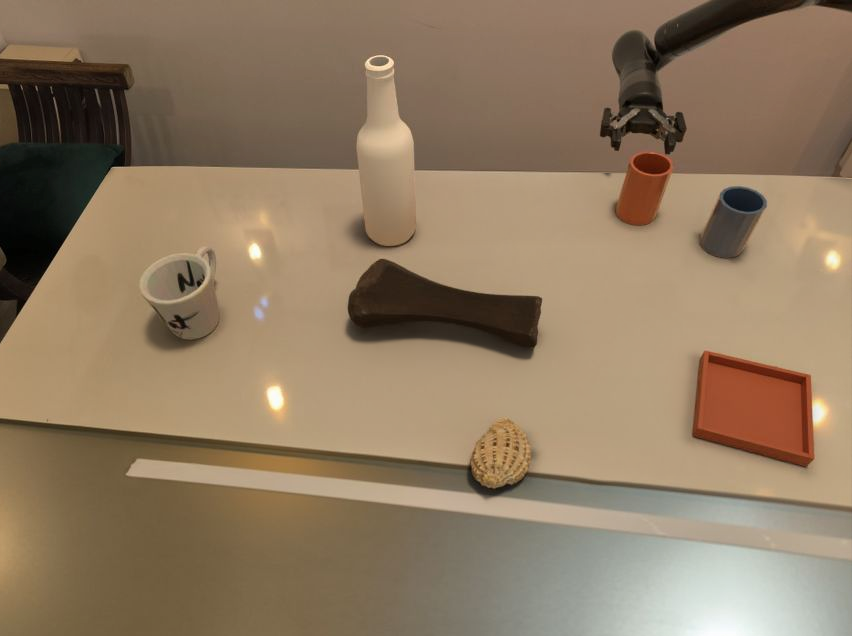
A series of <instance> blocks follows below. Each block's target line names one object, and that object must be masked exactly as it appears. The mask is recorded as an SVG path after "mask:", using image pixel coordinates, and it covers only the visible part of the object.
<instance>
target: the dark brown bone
mask: <svg viewBox="0 0 852 636" xmlns="http://www.w3.org/2000/svg"><path fill="white" fill-rule="evenodd" d="M542 303H543V298H542V297H541V296H539V295H521V294H520V295H518V294H517V295H516V294H495V293H485V292H477V291H471V290H465V289H461V288H456V287H453V286H448V285H445V284H442V283H439V282H436V281H434V280H431V279H429V278H426V277H424V276H422V275H419V274H417V273H415V272H414V271H411V270H410V269H408V268H406V267H404V266H402V265H400V264H398V263H396V262H394V261H392V260H389V259H387V258H379V259H377V260H376V261H374V262H373V263H372V264H371V265H369V267H368V268H367V269H366V270H365V271H364V272H363V273H362V274H361V276H360V277H359V278H358V281H357V282H356V286H355V288H354V289H353V290H351V291H350V293H349V296H348V302H347V313H348V317H349V320H350V321H351V323H352V324H354V325H355V326H357V327H360V328H371V327H377V326H384V325H390V324H398V323H408V322H427V323H429V322H430V323H442V324H449V325H455V326H460V327H464V328H469V329H473V330H477V331H480V332H483V333H487V334H489V335H492V336H495V337H498V338H500V339H503V340H506V341H508V342H511V343H513V344H515V345H518V346H521V347H523V348H527V349H533V348H535V347H536V346H537V344H538V336H539V321H540V319H541V315H542Z"/></svg>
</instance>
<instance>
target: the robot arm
mask: <svg viewBox="0 0 852 636" xmlns="http://www.w3.org/2000/svg"><path fill="white" fill-rule="evenodd" d="M808 7H820V8H827V9H833V10H837V11H842V12H845V13H846V12H847V13H850V14H852V0H706V1H704V2H702V3H700V4H699V5H696V6H694V7H693V8H690V9H689V10H686V11H684V12H683V13H681V14H678V15H676V16H675V17H672V18H671V19H669V20H667V21H665V22H664V23H662V24H661V25H659V26H658V27H657V29H656V30H655V33H654V36H653V37H654V38H653V42H654V44H653V43H652V41H651V40H650V38H649V37H648V36H647V35H646V33H644V32H643V31H642V30H639V29H631V30H628V31H625V32H624V33H622V34H621V35H620V36H619V38H618V39H617V40H616V41H615V43H614V45H613V48H612V51H611V60H612V64H613V67H614V69H615V72H616V74H617V77H618V78H619V90H618V98H617V101H618V112H614V111H612V108H610V107H605V108H604V109H603V113H602V116H601V122H600V129H599V137H600V138H606V137H609V139H610V147H611V148H613V149H614V152H619V151H620V149H621V144H622V138H624V137H625V136H626V135H628V134H629V133H631V134H643V135H650V136H651V137H653V138H654V139H656V140H661V141H662V142H663V146H664V155H671V153H674V151H675V149H676V146H677V143H683V140H684V136H685V135H686V132H687V129H688V128H687V124H686V121H685V116H684V113H683V112H681V111H676V112H675V114H674V115H667V114H666V112H665V111H664V104H663V93H662V86H661V83H660V79H659V73H660V72H661V71H662V70H664V68H666V67H667V66H668V65H669V64H671V63H672V62H674V61H676V59H678V58H681V57H682V56H685V55H686V54H689V53H691V52H693V51H695V50H697V49H699V48H702V47H704V46H706V45H708V44H709V43H711V42H713V41H714V40H716V39H719V38H720V37H721V36H723V35H724V34H726V33H728V32H730V31H731V30H733V29H735V28H738V27H739V26H742V25H744V24H747V23H749V22H752V21H755V20H759V19H762V18H765V17H768V16H769V17H770V16H774V15H777V14H781V13H785V12H794V11H795V12H796V11H799V10H802V9H804V8H808ZM614 121H616V123H614ZM612 123H614V124H613V125H611V124H612ZM666 132H667V133H666Z"/></svg>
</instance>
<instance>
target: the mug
mask: <svg viewBox="0 0 852 636" xmlns="http://www.w3.org/2000/svg"><path fill="white" fill-rule="evenodd" d="M206 254H207V257H208V261H207V260H206V259H205V258H203V257H204V256H205V255H206ZM216 271H217V256H216V252H215V250H213V248H211V246H209V245H204V246H201V247H200V248H199V249H197V251H196V252H195V253H188V252H180V253H179V252H178V253H173V254H170V255H166V256H163V257H161V258H159V259H158V260H156V261H154V262H153V263H151V264H150V265H149V266H148V267H147V268H146V269H145V270H144V271H143V273H142V275H141V277H140V279H139V284H138V285H139V286H138V288H139V292H140V294H141V297H142V298H143V299H144V300H145V301H146V303H148V305H149V307H151V308H152V309H153V311H154V312H155V313H156V314H157V315H158V317H159V318H160V319H161V320H162V322H163V323H165V325H166V327H168V328H169V330H170V331H171V333H173V334H174V335H175V337H177V338H180V339H182V340H190V341H191V340H198V339H201V338H204V337H206V336H207V335H209V334H210V333H212V332H213V331H214V330H215V329H216V327H217V326H218V325H219V321H220V309H219V305H218V298H217V294H216V288H215V277H216Z"/></svg>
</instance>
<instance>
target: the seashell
mask: <svg viewBox="0 0 852 636" xmlns="http://www.w3.org/2000/svg"><path fill="white" fill-rule="evenodd" d="M531 452H532V451H531V445H530V442H529V439H528V436H527V435H526V433H525V431H524V430H522V429H521V428H520V427H519V426H518V425H516V423H515V422H514V421H513V420H512V419H510V418H507V417H503V418H502V419H499V420H496V421H495V422H493V423H492V425H491V426H489V428H488V430H487V431H486V433H484V434H483V435H482V436H481V438H480V439H479V440H477V441H476V442H475V444H474V448H473V451H472V453H471V456H470V467H471V474H472V476H473V477H474V479H475V481H477V482H479V483H480V485H481V486H484V487H487V489H489V488H490V489H491V488H492V489H493V490H495V489H497V488H502V487H504V486H505V485H511V486H512V485H514V484H517V483H519V482H520V481H521V480H523V479H524V477H525V476H526V474H527V472H528V470H529V468H530V463H531V455H532V453H531Z"/></svg>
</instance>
